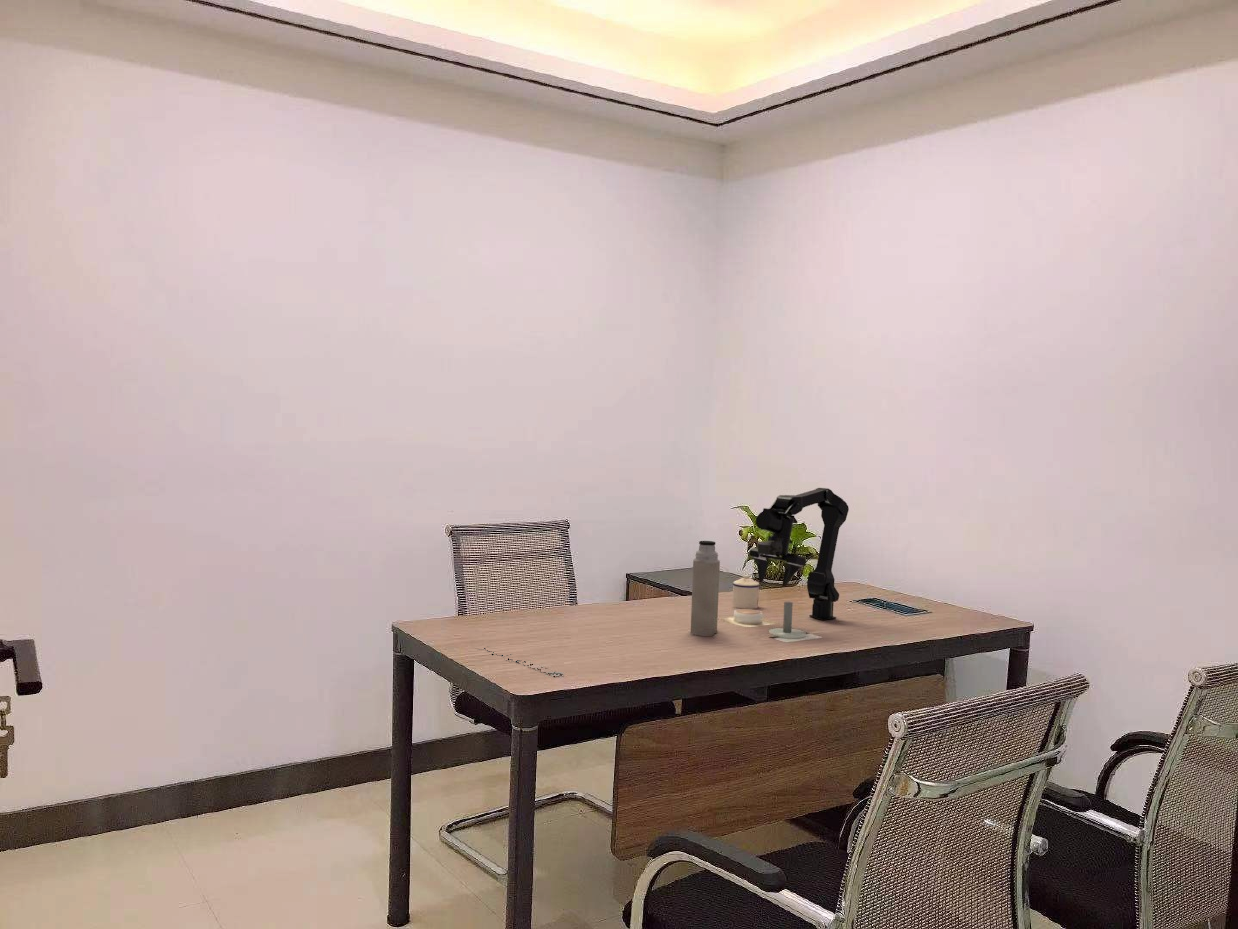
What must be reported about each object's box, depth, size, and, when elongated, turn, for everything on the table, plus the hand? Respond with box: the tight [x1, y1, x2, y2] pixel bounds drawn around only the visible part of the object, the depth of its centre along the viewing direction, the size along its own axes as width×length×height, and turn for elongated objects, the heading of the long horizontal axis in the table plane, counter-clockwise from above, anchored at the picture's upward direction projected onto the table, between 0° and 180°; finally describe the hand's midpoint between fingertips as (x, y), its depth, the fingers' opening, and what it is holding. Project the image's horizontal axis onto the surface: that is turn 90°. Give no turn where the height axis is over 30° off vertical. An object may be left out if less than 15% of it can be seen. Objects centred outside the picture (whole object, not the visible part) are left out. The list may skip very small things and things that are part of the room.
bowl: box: [733, 608, 763, 624], centre depth 325 cm, size 9×9×3 cm
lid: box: [768, 601, 807, 639], centre depth 309 cm, size 11×11×10 cm
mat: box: [768, 631, 823, 643], centre depth 310 cm, size 15×15×1 cm
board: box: [717, 616, 780, 629], centre depth 325 cm, size 14×14×1 cm
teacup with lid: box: [732, 574, 760, 610], centre depth 351 cm, size 12×9×12 cm
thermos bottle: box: [690, 540, 721, 637], centre depth 309 cm, size 8×8×28 cm
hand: (772, 584), depth 320 cm, fingers open, 9 cm apart
